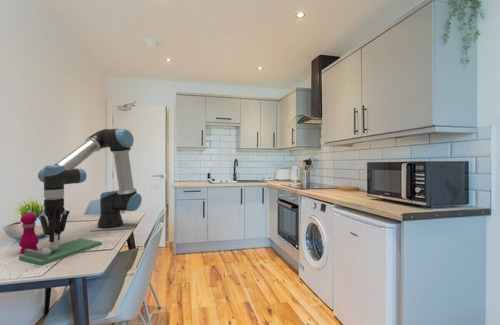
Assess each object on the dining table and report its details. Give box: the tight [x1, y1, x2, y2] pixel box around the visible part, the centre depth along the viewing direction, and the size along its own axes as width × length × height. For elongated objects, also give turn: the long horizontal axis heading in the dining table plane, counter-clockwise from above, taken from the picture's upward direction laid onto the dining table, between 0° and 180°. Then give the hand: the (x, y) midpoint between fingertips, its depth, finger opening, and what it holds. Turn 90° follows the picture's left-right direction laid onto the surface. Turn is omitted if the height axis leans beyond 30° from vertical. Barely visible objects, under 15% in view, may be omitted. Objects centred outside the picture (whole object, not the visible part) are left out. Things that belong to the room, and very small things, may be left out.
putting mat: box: [18, 238, 102, 266], centre depth 125 cm, size 28×16×4 cm, turn 158°
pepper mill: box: [18, 209, 40, 255], centre depth 125 cm, size 7×7×20 cm
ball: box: [40, 247, 52, 255], centre depth 118 cm, size 4×4×4 cm
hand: (54, 248), depth 121 cm, fingers closed
